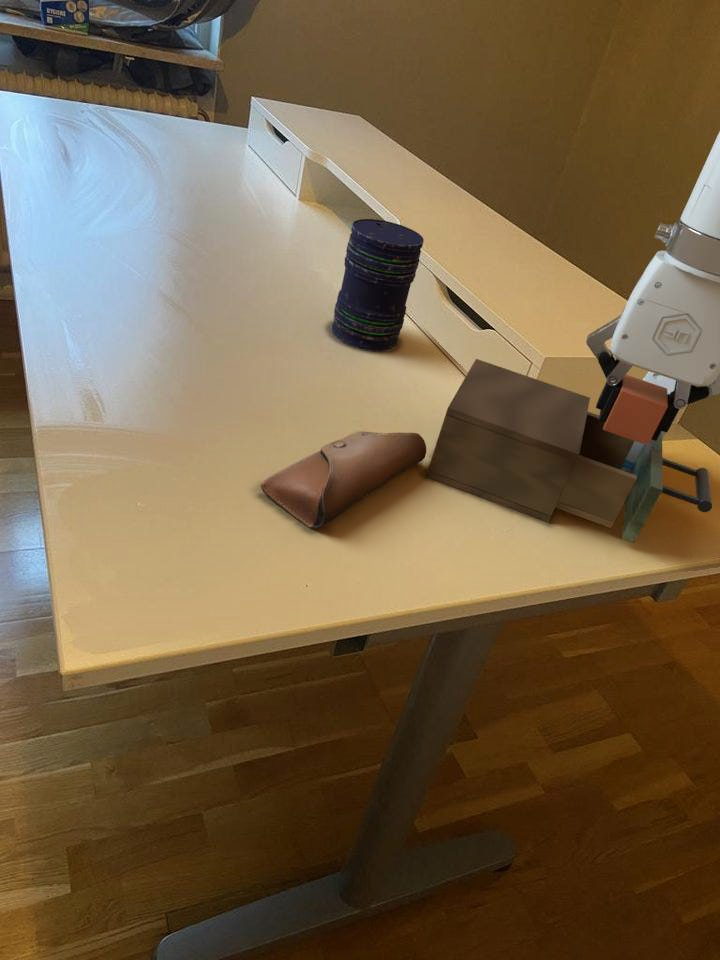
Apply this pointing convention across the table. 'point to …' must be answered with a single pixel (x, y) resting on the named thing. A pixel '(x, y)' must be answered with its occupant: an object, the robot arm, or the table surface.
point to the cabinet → (510, 439)
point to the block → (637, 410)
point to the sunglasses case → (342, 474)
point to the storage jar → (376, 284)
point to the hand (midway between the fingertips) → (628, 423)
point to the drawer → (623, 480)
